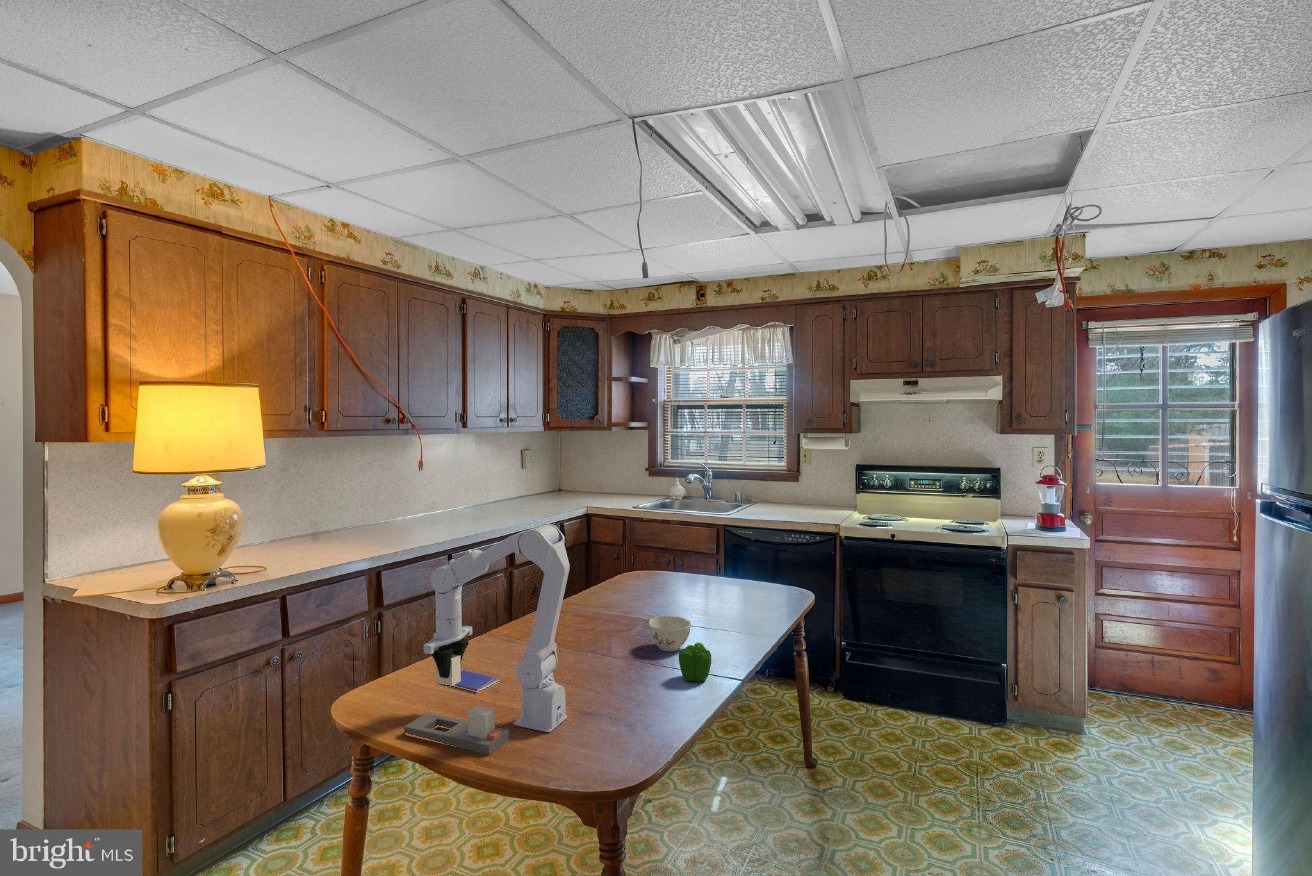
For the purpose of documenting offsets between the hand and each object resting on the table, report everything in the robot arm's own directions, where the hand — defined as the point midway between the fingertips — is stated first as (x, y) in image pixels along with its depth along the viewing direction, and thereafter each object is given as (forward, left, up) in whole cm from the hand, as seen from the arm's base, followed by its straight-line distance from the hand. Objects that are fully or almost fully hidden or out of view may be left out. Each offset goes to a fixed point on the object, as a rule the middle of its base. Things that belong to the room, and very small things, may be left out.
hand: (449, 674), depth 154 cm
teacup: (-33, -59, -9) cm, 68 cm away
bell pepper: (-47, -39, -9) cm, 62 cm away
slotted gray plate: (-10, +10, -9) cm, 16 cm away
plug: (0, 0, -2) cm, 2 cm away
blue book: (+6, -15, -9) cm, 19 cm away
